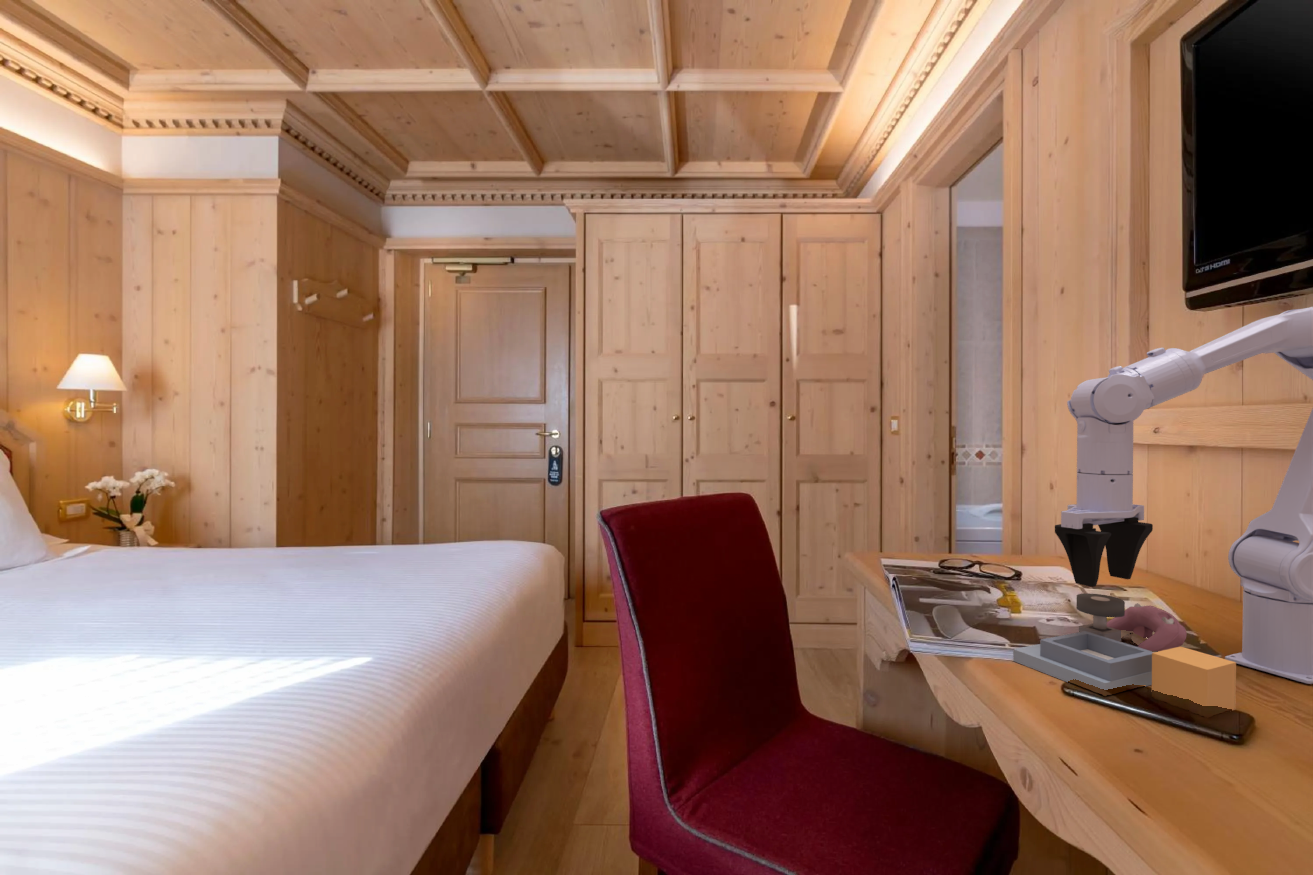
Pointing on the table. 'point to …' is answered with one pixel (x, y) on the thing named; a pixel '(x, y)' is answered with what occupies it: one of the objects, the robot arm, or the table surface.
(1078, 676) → the chassis
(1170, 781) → the table surface
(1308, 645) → the robot arm
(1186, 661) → the orange cube
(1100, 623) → the wheel
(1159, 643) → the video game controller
